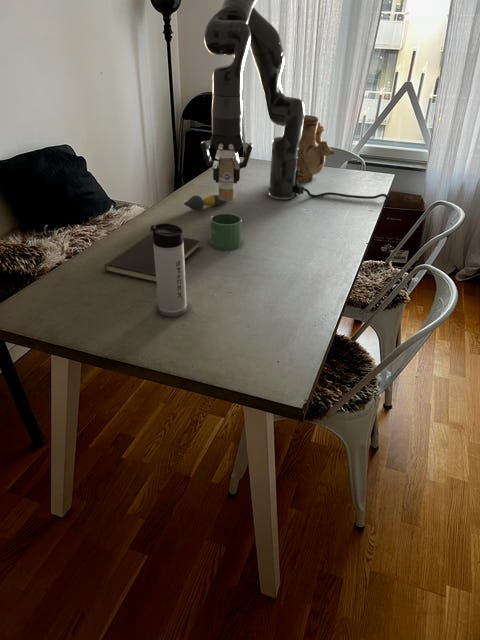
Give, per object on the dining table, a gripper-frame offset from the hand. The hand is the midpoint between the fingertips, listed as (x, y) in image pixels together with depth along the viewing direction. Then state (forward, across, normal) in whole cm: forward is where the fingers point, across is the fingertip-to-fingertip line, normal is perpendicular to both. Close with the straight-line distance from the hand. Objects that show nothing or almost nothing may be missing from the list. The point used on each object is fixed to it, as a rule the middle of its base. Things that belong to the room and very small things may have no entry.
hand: (226, 181), depth 126 cm
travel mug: (+18, +8, +38) cm, 42 cm away
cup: (+18, 0, 0) cm, 18 cm away
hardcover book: (+18, +18, +13) cm, 29 cm away
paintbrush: (+18, +9, -29) cm, 36 cm away
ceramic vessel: (+18, -25, -67) cm, 74 cm away
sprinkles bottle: (+5, 0, 0) cm, 5 cm away
